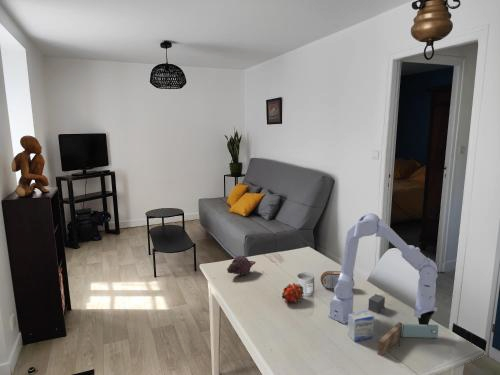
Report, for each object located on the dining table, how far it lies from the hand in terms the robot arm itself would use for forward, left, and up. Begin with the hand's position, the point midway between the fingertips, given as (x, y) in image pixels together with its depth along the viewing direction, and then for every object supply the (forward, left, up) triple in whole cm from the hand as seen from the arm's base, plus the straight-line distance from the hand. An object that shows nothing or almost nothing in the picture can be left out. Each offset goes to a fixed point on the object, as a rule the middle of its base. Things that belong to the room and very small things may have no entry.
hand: (423, 327), depth 127 cm
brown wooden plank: (-15, +5, -2) cm, 16 cm away
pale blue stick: (-4, 0, -2) cm, 4 cm away
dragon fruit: (-16, +49, -3) cm, 52 cm away
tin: (+8, +42, -3) cm, 43 cm away
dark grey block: (+4, +20, -3) cm, 21 cm away
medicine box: (-18, +15, -3) cm, 24 cm away
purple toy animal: (-14, +86, -3) cm, 87 cm away
